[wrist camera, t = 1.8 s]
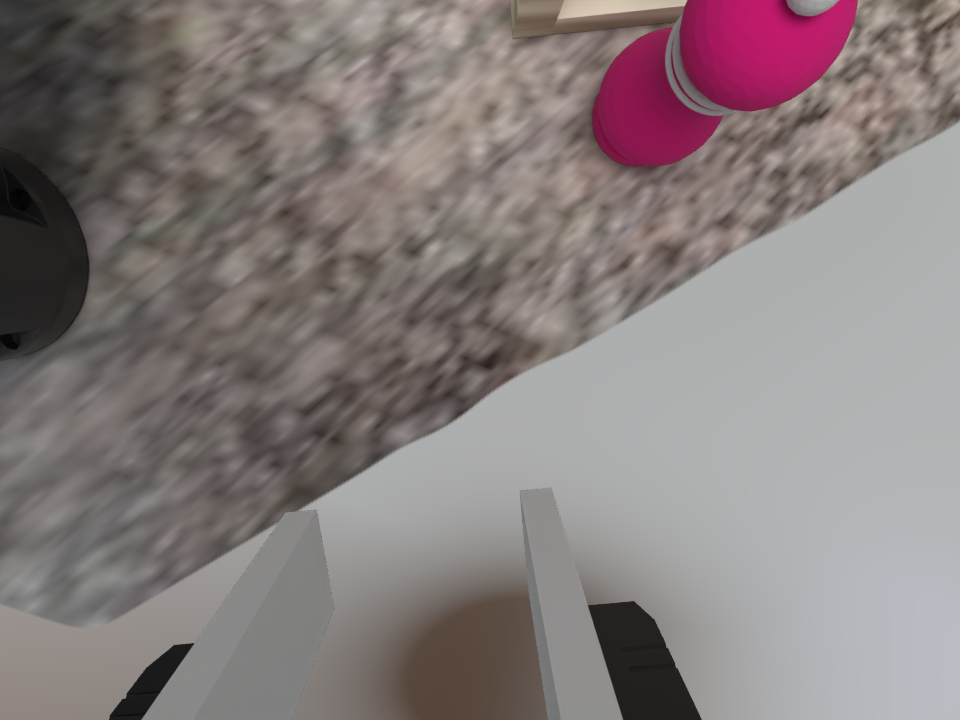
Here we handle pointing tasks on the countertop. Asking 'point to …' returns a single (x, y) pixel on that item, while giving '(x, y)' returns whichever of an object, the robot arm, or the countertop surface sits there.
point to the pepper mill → (713, 72)
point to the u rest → (588, 15)
